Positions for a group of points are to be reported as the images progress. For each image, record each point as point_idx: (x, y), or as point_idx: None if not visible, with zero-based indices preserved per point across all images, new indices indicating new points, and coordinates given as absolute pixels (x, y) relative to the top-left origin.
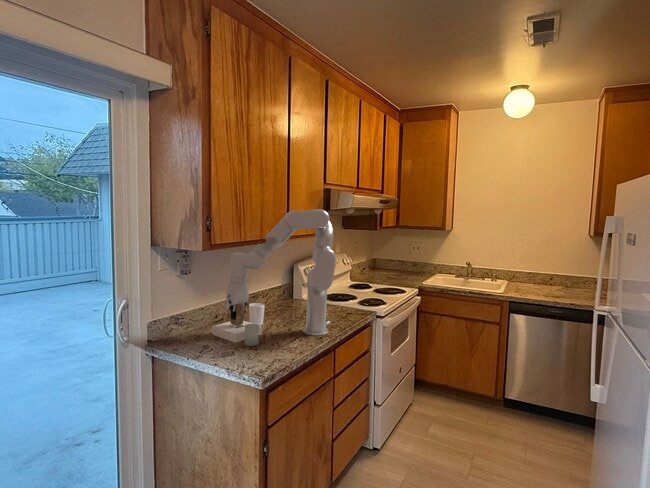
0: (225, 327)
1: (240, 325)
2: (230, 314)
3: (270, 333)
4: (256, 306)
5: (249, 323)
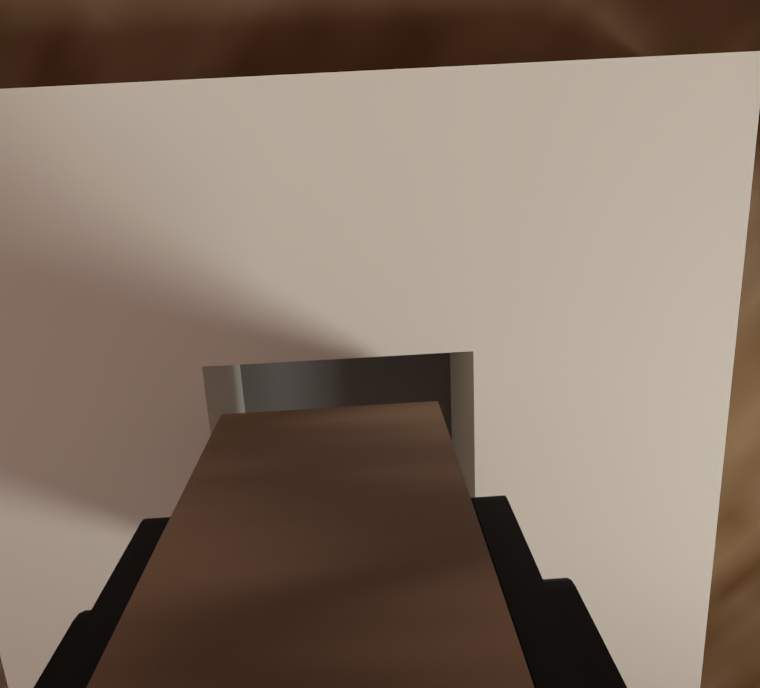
0: (83, 402)
1: (471, 429)
2: (42, 676)
3: (751, 684)
4: None
5: (663, 502)
